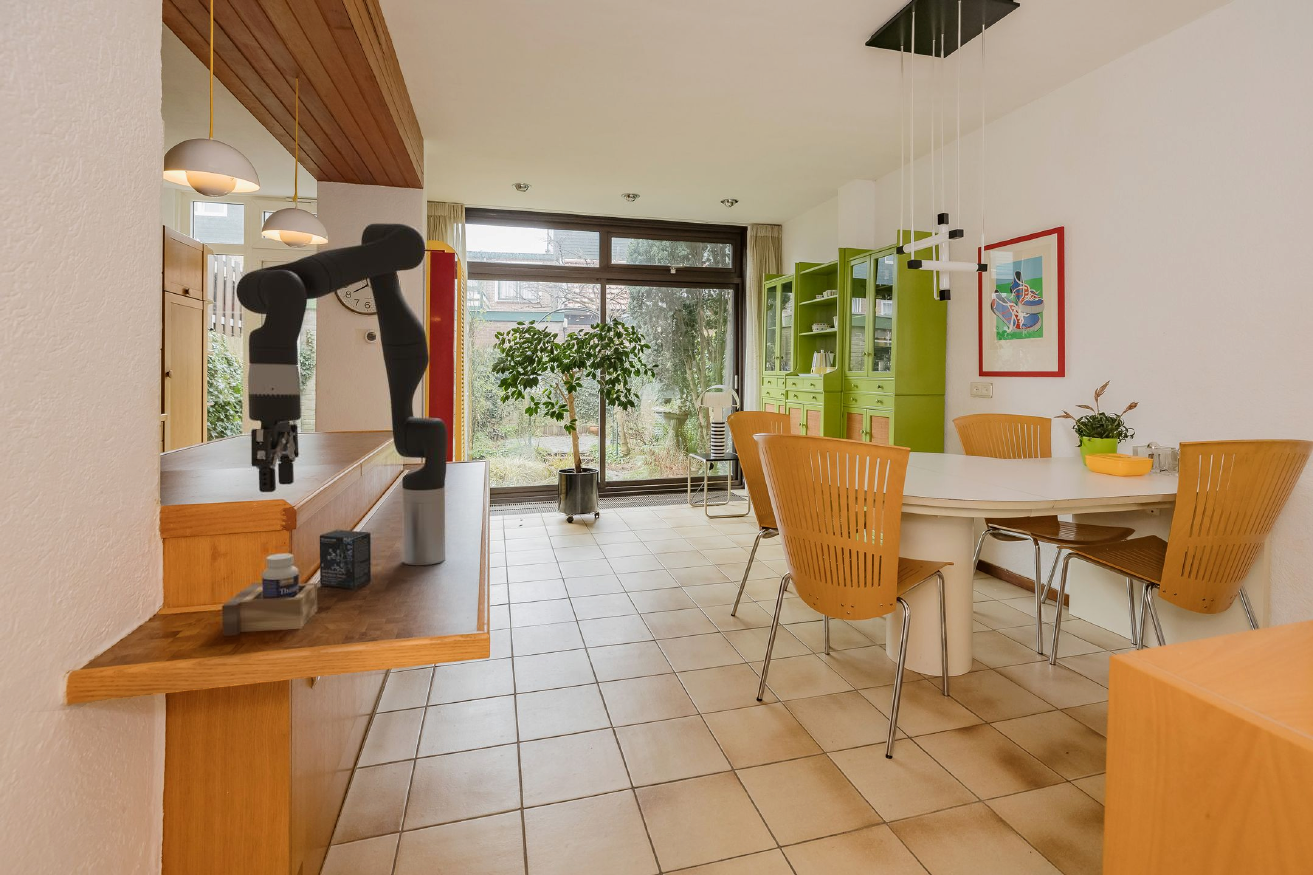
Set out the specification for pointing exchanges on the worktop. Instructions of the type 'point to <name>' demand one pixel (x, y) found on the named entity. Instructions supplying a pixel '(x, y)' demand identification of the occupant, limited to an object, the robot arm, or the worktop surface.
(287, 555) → the pill bottle
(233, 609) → the plank
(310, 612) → the light brown wooden tray
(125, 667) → the worktop surface
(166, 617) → the worktop surface
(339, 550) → the box
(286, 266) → the robot arm
